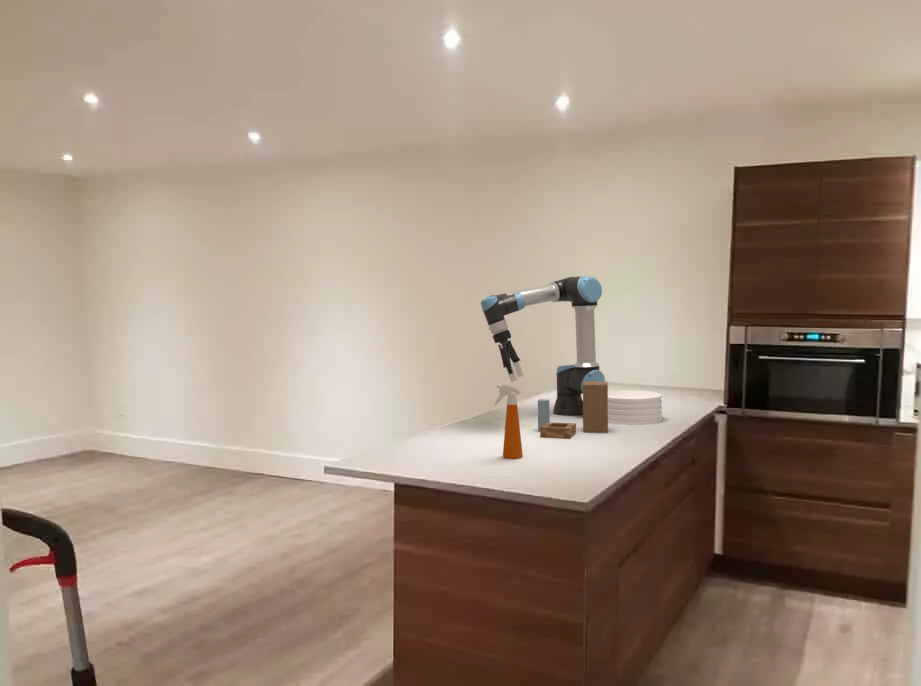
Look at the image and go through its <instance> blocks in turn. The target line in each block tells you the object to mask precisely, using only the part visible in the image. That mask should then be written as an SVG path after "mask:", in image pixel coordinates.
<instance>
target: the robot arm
mask: <svg viewBox="0 0 921 686" xmlns="http://www.w3.org/2000/svg"><path fill="white" fill-rule="evenodd" d="M602 293H603V289H602V284H601V283H600V281H599V280H598V279H597V278H595V277H594V276H588V275H584V276H568V277H565V278H562V279H557V280H555V281H550V282H548V284H546V285H542V286H541V285H540V286H536V287H531V288H525V289H520V290H515V291H510V292H506V293H500V294H492V295H488V296H487V297H486V298H484V299H482V300H481V301H480V305H481V309H482V312H483V314H484V317H485V320H486V322H487V325H488V330H489V331H490V333H491V334H492V339H493V341H494V344H498V343H499V344H498V346H497V347H498V350H499V353H500V357H501V361H502V367H503V369H506V373H507V374H508V377H509V380H510V382H511V383H512V382H515V381H518V378H520V377H524V376H525V375H524V372H523V369H522V367H521V364H520V361H521V358H520V357H519V355H518V354H517V351H516V350H515V348H514V346H513V343H512V341H511V340H509V339H511V338H512V334H511V332H510V330H509V329H508V328H509V326H508V323H507V321H506V318H505V316H507V315H510V314H513V313H516V312H519V311H521V310H523V309H525V307H528V306H533V305H538V304H543V303H547V302H551V303H558V302H568V303H569V302H571V308H573V309H574V312H575V317H574V318H575V319H574V320H575V344H576V363H574V364H569V365H568V364H567V365H558V366H557V367H556V374H555V375H556V399H555V402H554V405H553V407H552V408H553V410H552V411H553V414H555V415H561V416H578V415H579V416H580V415H583V383H584V382H585V381H595V382H606V378H605V374H604V373H603V372H602V371H601V370H600V364H599V363H598V362H597V359H596V358H597V357H596V329H595V325H596V324H595V309H596V308H597V307H598V301H599V300H600V299H601V297H602ZM511 362H512V363H511Z"/></svg>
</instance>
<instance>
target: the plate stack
mask: <svg viewBox="0 0 921 686" xmlns="http://www.w3.org/2000/svg"><path fill="white" fill-rule="evenodd" d="M662 397H663V395H662V393H660V392H655V391H651V390H650V391H648V390H637V389H636V390H634V389H633V390H630V389H628V390H624V389H623V390H618V389H617V390H608V424H613V425H625V426H626V425H627V426H629V425H630V426H639V425H640V426H641V425H642V426H643V425H652V424H657V423H660V422H662V421H663V417H662V416H663V411H662V409H663V405H662V404H663V400H662V399H663V398H662Z"/></svg>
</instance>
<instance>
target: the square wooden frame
mask: <svg viewBox="0 0 921 686" xmlns="http://www.w3.org/2000/svg"><path fill="white" fill-rule="evenodd" d="M539 432H540V438H547V439H548V438H551V439H566V438H568V439H569V440H571V438H573V437H574V434H575V435H576V434H577V423H575V422H574V423H571V422H551V421H550V422H547V423H546V424H544V425H543V426H541V427H540V431H539Z"/></svg>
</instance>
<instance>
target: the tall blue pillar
mask: <svg viewBox="0 0 921 686" xmlns="http://www.w3.org/2000/svg"><path fill="white" fill-rule="evenodd" d="M550 416H551V415H550V399H549V398H543V399H542V398H539V399H537V431H538V432H540V427H541V426H543V425H544V424H546V423H547V422H551V421H550Z"/></svg>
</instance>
